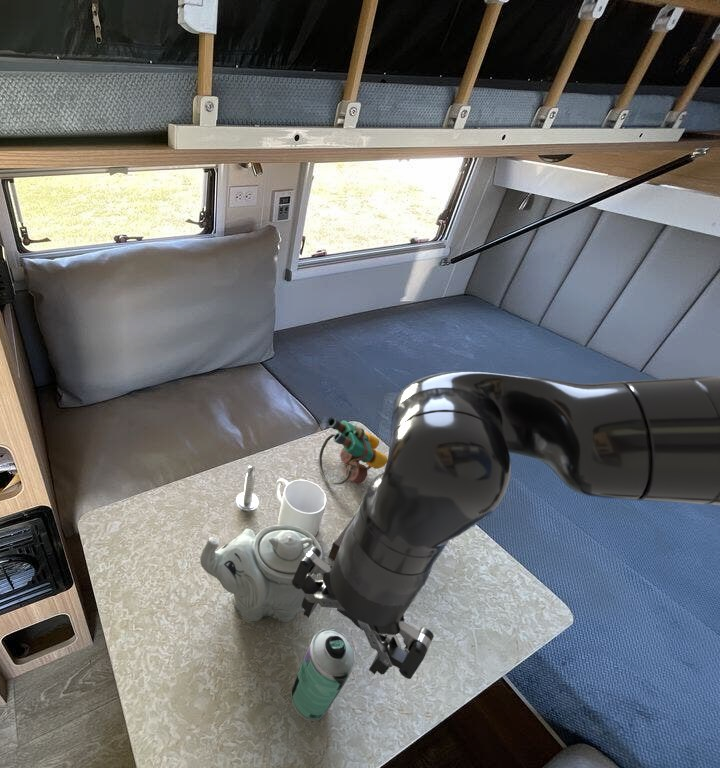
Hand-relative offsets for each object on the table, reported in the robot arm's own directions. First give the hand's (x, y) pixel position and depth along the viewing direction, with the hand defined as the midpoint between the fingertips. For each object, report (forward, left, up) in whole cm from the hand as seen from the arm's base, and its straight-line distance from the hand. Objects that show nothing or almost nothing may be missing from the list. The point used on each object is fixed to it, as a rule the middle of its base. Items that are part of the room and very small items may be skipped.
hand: (341, 636), depth 48 cm
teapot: (+15, -7, -22) cm, 28 cm away
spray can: (0, 0, -22) cm, 22 cm away
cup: (+19, -25, -22) cm, 38 cm away
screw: (+28, -21, -22) cm, 41 cm away
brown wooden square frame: (+3, -29, -22) cm, 36 cm away
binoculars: (+17, -46, -22) cm, 53 cm away
